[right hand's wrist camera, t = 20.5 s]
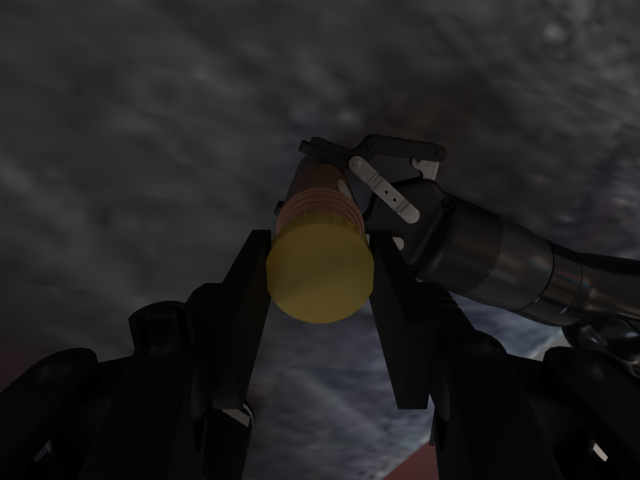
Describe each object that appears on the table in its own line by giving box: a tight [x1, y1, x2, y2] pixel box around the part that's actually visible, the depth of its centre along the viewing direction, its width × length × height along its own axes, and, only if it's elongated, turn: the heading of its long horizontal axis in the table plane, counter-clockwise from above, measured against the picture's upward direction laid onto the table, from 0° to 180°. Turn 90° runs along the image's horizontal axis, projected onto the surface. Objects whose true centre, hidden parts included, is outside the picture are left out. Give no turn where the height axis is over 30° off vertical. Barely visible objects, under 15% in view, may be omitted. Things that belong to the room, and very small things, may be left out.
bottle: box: [276, 155, 364, 235], centre depth 24 cm, size 5×5×21 cm
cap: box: [266, 211, 374, 323], centre depth 14 cm, size 4×4×2 cm
